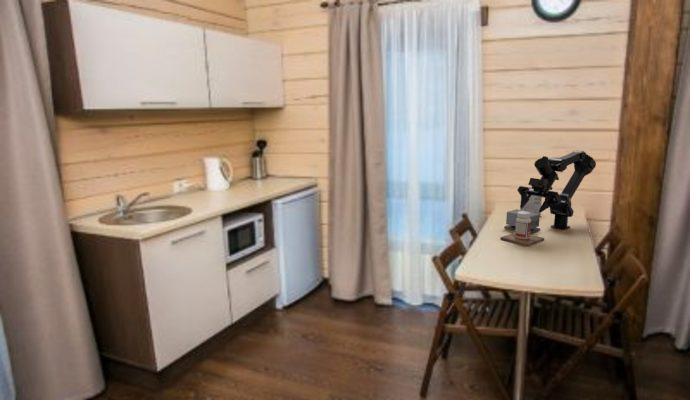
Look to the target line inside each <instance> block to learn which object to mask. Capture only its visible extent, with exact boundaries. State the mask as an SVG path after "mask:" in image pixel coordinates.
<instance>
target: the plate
mask: <svg viewBox="0 0 690 400" xmlns="http://www.w3.org/2000/svg"><path fill="white" fill-rule="evenodd" d="M500 240H502V241H505V242H509V243H513V244H515V245H519V244H520V245H519V246H523V245H524V246H523V247H529V245H530V246H533V245H535V244H538V243H540V241H541V242H543V241H545V237H541V236H538V235H534V234H530V238H529V239H518V238H516V237H515V232H512V233H510V234H509V233H508V234H506V235H503V236H500ZM537 242H538V243H537ZM534 243H535V244H534ZM532 244H533V245H532Z"/></svg>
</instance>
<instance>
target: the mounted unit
mask: <svg viewBox="0 0 690 400" xmlns="http://www.w3.org/2000/svg"><path fill="white" fill-rule="evenodd" d="M519 211H523V210H520V209H512V210H510V211H506V218H505V219H506V220H505V221H506V222H505V224H506V225H505V226H504V227H503V228H504V229H506V230H510V231H514V232H515V230H516V219H517V218H518V216H517V215H518V212H519ZM526 212H528V211H526ZM540 217H541V216H540V214H538V213H533V212H530V217H529V218H530V219H531V231H530V235H532V234H534V233H537V232H540V231H541V228H539V227H540V226H539V225H540Z"/></svg>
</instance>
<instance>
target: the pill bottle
mask: <svg viewBox="0 0 690 400" xmlns="http://www.w3.org/2000/svg"><path fill="white" fill-rule="evenodd" d="M517 216H518V218H517V219H516V230H515V231H514V233H515V237H516V238H518V239H529V238H530V235H531V234H530V231H531V219H530V218H529V217H530V212H526V211H519V212H518V215H517Z"/></svg>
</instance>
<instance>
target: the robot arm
mask: <svg viewBox="0 0 690 400" xmlns="http://www.w3.org/2000/svg"><path fill="white" fill-rule="evenodd" d="M572 164H573V168H574V171H573V174H572V175H571V176H570V177H569V179H568V182H567V183H566V185H565V186H564V188H563V189H562V191H561V192H560V194H559V192H558V191H554V190H553V187H552V186H553V185H554V183H555V181H559V180H560V179H559V178H560V177H559V174H558V173H563V172H564V171H565V170H566V169H568V166H570V165H572ZM533 165H534V167H535V169H536V170H537V172H538V174H539V175H540V176H541V177H540V178H534V177H530V178H529V181H528V185H529V186H531V188H532V189H529V188H528V186H523V185H521V186H518V188H517V192H518V194H519V195H520V205H519V208H521V209H522V208H523V207H524V206H525V205H526V203H527V202H528V201H529V198H530V197H531V195H533V196H538V197H542V198H544V201H543V203H541V207H540V210H539V212H540V213H541V214H542V213H543V212H544V211H546V210H547V209H549V212H550V214H551V215H554V219H553V220H554V221H553V225H550V228H553V229H558V230H563V231H564V230H567V229H570V228H571V226H570V225H568V221H569V218H571V217H573V216H574V213H575V211H574V209H573V207H572V206H573V205H572V204H573V203H572V198H573V196H574V195H575V193H576V191H578V188H579V187H580V185H581V183H582V182H583V180H584V179H585V177H586V176H588V175H589V174H591V173H592V172H593V170H595V168H596V166H597V162H596V160H595V159H594V157H592V156H591V155H588V154H587V152H586V151H584V150H573V151H572V152H570V153H568V154H565V155H562V156H561V157H550V158H549V157H548V156H544V155H543V156H542V157H540V158H538V159H537V160H535V161H534V164H533ZM530 190H534V191H530Z"/></svg>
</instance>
